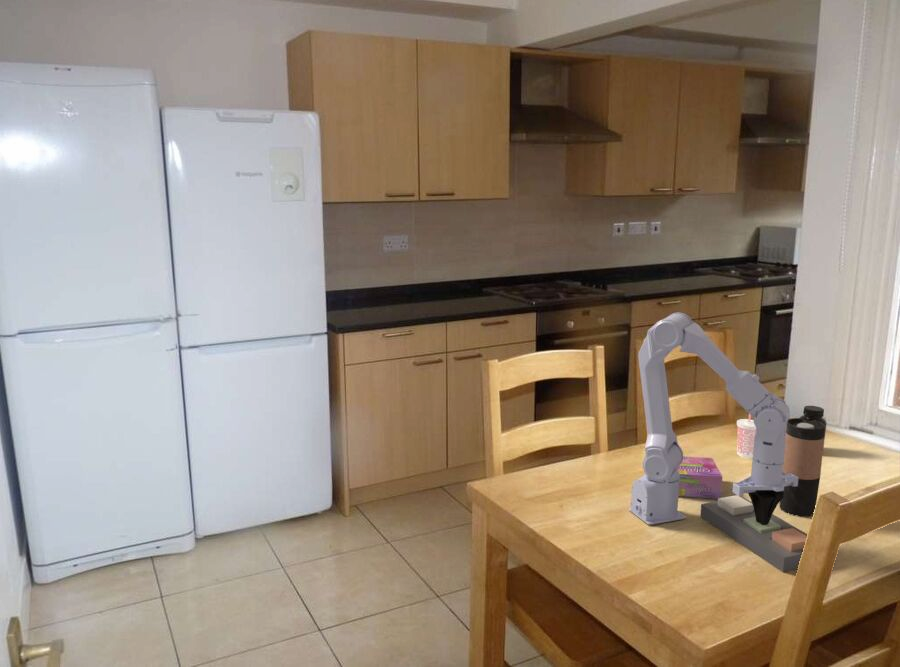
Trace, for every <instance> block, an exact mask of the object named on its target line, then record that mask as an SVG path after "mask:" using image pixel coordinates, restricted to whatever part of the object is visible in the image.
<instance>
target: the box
mask: <svg viewBox="0 0 900 667" xmlns="http://www.w3.org/2000/svg"><path fill="white" fill-rule="evenodd" d="M677 469H678V472H679V474H680V480H679V495H678V498H679V497H680V498H695V499H696V498H697V499H698V498H699V499H715V500H716V499H717V500H718V498H722V487H723V474H722V473H721V471H720V469H719V468H718V466H717V464H716V462H715V460H714V458H713V457H707V456H706V457H705V456H686V455H685V456H684V455H683V461H682V463H681V464H680V465H679V466H677Z"/></svg>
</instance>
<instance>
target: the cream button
mask: <svg viewBox="0 0 900 667" xmlns="http://www.w3.org/2000/svg"><path fill="white" fill-rule="evenodd" d="M741 497H742V496H738V495H736V494H735V495H732V496H725V497H721V498H718V499H717V501H718V504H717V506H718V507H720V508H722V509H723V510H725V511H726V512H728V513H730V514H731V515H733V516H734V515H740V514H745V513H751V512H753V504H751V503H750V502H748V501H746V500H744V499H743V498H741Z"/></svg>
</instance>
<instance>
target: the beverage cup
mask: <svg viewBox="0 0 900 667" xmlns="http://www.w3.org/2000/svg"><path fill="white" fill-rule="evenodd" d="M751 418H752V415H751V414H749V413H748V418H742V419H741V418H740V419H738V420H737V421H736V426H737V434H736V435H737V436H736V437H737V441H736V442H737V443H736V444H737V445H736V446H737V448H736V453H737V454H738V455H739V457H740V456H741V457H740V458H743V457H744V459H753V449H754V438H755V435H756V426H755V424H754V421H753V419H751ZM738 455H737V456H738Z"/></svg>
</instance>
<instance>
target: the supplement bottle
mask: <svg viewBox="0 0 900 667" xmlns="http://www.w3.org/2000/svg"><path fill="white" fill-rule="evenodd" d="M802 413H803V415H801V416H800V417H799V418H801V419H802V420H803V421H808V422H811V421H813V420H815V421H819V422H821V423H823V424H824V425H825V434H824V441H825V440H826V439H825V438H826V431H827V425H828V424H827V421H826V419H825V418H823V417H824V416H825V415H824V414H825V409H824V408H823V407H821V406H816V405H805V406H803V412H802ZM824 447H825V443H824V444H823V449H825V448H824Z"/></svg>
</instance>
